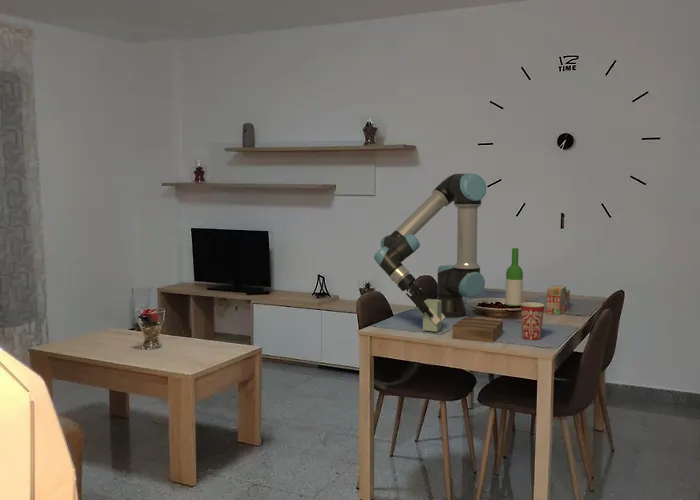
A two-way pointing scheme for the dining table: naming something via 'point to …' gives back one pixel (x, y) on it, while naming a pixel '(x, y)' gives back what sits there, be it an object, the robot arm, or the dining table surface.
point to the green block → (436, 308)
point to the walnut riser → (477, 329)
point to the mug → (532, 320)
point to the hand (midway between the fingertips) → (440, 320)
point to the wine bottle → (514, 282)
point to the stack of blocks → (557, 300)
